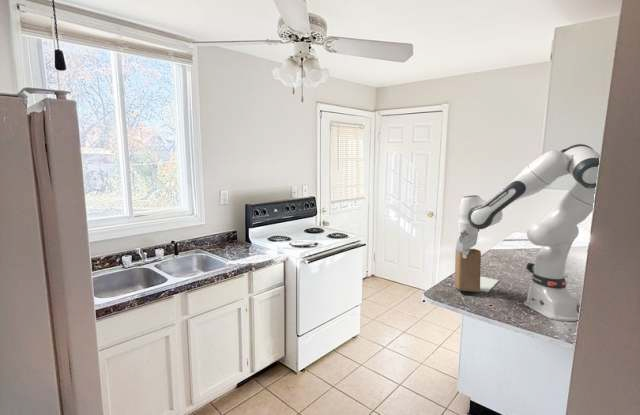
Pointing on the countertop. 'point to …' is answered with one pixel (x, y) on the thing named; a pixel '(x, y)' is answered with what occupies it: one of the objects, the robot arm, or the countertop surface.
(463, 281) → the wooden block
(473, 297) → the countertop surface
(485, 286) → the mat
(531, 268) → the can opener
